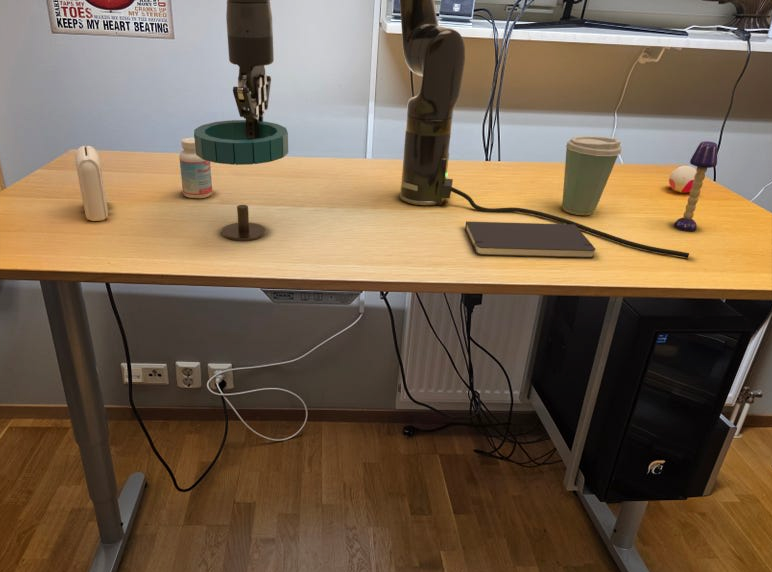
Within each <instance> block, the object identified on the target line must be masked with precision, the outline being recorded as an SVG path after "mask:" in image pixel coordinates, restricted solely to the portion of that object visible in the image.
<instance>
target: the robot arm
mask: <svg viewBox="0 0 772 572" xmlns="http://www.w3.org/2000/svg"><path fill="white" fill-rule="evenodd" d="M270 1H271V0H226V12H225V13H226V15H225V16H226V21H225V22H226V33H227V34H226V36H227V47H228V60H229V61H228V62H230V64H231V65H235V66H236V65H237V66H238V67H239V68H238V76H237V86H233V87H232V93H233V98H234V101H235V103H236V107H237V111H238V114H239V117H240V118H243V120H246V134H247V140H253V139H260V136H259V121H264V116H265V114H266V111H268V109H269V100H270V92H271V85H272V84H271V83H272V77H271V76H270V75H266V68H265V66H270V65H272V64H273V63H274V61H275V59H274V55H275V54H274V29H273V14H272V8H271V2H270ZM398 1H399V2H398V3H399V10H400V11H399V12H400V23H401V24H400V25H401V39H402V41H401V42H402V51H403V56H404V61H405V64H406V66H407V68H408V69H409V70H410V71H411V72H412V73H413V74H415V75H417V76H418V77H421V84H420V90H419V93H418V94H417V95H415V96H412V97H410V98H409V99H408V101H407V104H406V105H407V106H406V118H405V119H406V121H405V129H404V130H405V131H404V144H403V157H402V169H401V183H400V193H399V198H400V199H401V201H403V202H405V203H408V204H410V205H411V204H412V205H416V206H434V205H437V206H438V205H439V206H441V205H443V202H444V199H448V200H450V198H451V195H452V193H454V194H455V195H458V196H459V197H460V196H461V197H462V198H464V199H465V200H466V201H467V202H468V204H469V205H470V206H471V207H472V208H473V209H474V210H477V211H479V212H482V213H512V212H513V213H521V214H528V215H532V216H537V217H541V218H545V219H548V220H552V221H555V222H558V223H561V224H575V225H576V226H577V227H578V229H579V230H582V231H584V232H587V233H590V234H592V235H595V236H598V237H601V238H605V239H607V240H609V241H613V242H615V243H617V244H622V245H625V246H628V247H631V248H635V249H639V250H643V251H647V252H652V253H658V254H664V255H669V256H676V257H682V258H687V259H688V258H689V256H690V252H686V251H680V250H673V249H667V248H661V247H656V246H651V245H647V244H642V243H639V242H634V241H631V240H628V239H624V238H622V237H619V236H615V235H612V234H609V233H606V232H604V231H601V230H597V229H596V228H592V227H589V226H586V225H584V224H581V223H579V222H576V221H572V220H571V219H566V218H564V217H560V216H557V215H554V214H550V213H546V212H543V211H538V210H534V209H529V208H522V207H511V206H510V207H495V208H493V207H492V208H491V207H484V206H480V205H478V204H476V203H475V201H474V199H473V198H472V197H471V196H470V195H468V194H467V193H465V192H464V191H461V190H460V189H457V188H455V187H453V182H454V179H453V178H447V177H448V167H449V160H450V159H449V158H450V152H449V151H450V143H451V142H450V141H451V135H452V127H453V125H452V124H453V117H454V110H455V108H456V105H457V103H458V101H459V98H460V93H461V88H462V83H463V82H462V81H463V75H464V69H465V62H466V44H465V41H464V39H463V37H462V35H461V33H460V32H459V31H457V30H456V29H453V28H451V27H445V26H441V25H439V22H438V18H437V11H436V5H435V0H398Z"/></svg>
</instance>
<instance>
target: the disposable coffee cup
mask: <svg viewBox="0 0 772 572" xmlns="http://www.w3.org/2000/svg"><path fill="white" fill-rule="evenodd" d="M565 148H566V150H565V162H564V163H565V164H564V177H563V190H562V202H561V203H562V204H561V205H562V210H564V212H566V213H569V214H571V215H577V216H590V215H593V214H594V212H595V211H596V209H597V207H598V205H599V202H600V201H601V197H602V195H603V192H604V191H605V188H606V185H607V183H608V181H609V178H610V176H611V173H612V171H613V168H614V167H615V164H616V161H617V159H618V156H619V155H621V154H622V147H621V140H620V139H617V138H614V137H607V136H596V135H579V136H573V137H572V138H570V139H569V140H568V141H567V142H566V146H565Z"/></svg>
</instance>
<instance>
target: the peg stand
mask: <svg viewBox="0 0 772 572" xmlns="http://www.w3.org/2000/svg"><path fill="white" fill-rule="evenodd" d="M236 215H237V216H236V217H237V222H234V223H230V224H227V225H225V226H224V227H223V228H222V229H221V235H222V236H223V237H224V238H225V239H228V240H231V241H236V242H250V241H255V240H258V239H261V238H263V237H265V235H266V233H267V230H266V228H265V226H264V225H261V224H258V223H255V222H250V215H249V205H247V204H238V205H236Z"/></svg>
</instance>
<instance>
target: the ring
mask: <svg viewBox="0 0 772 572" xmlns="http://www.w3.org/2000/svg"><path fill="white" fill-rule="evenodd" d="M259 136H260V139H253V140H247V134H246V119H232V120H230V119H228V120H222V121H215V122H214V121H213V122H210V123H206V124H202V125H200V126H198V127H197V128H196V127H195V129H194V130H193V137H194V139H195V149H196V155H197V156H198V157H200V158H202V159H204V160H206V161H210V163H215V164H219V165H220V164H221V165H233V166H243V165H248V166H249V165H259V164H266V163H272V162H274V161H278V160H280V159H283V158H285V157H286V156H287V155H288V154H289V131H288V129H287V127H285V126H283V125H281V124H279V123H276V122H275V123H274V122H270V121H264V120H263V121H259Z"/></svg>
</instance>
